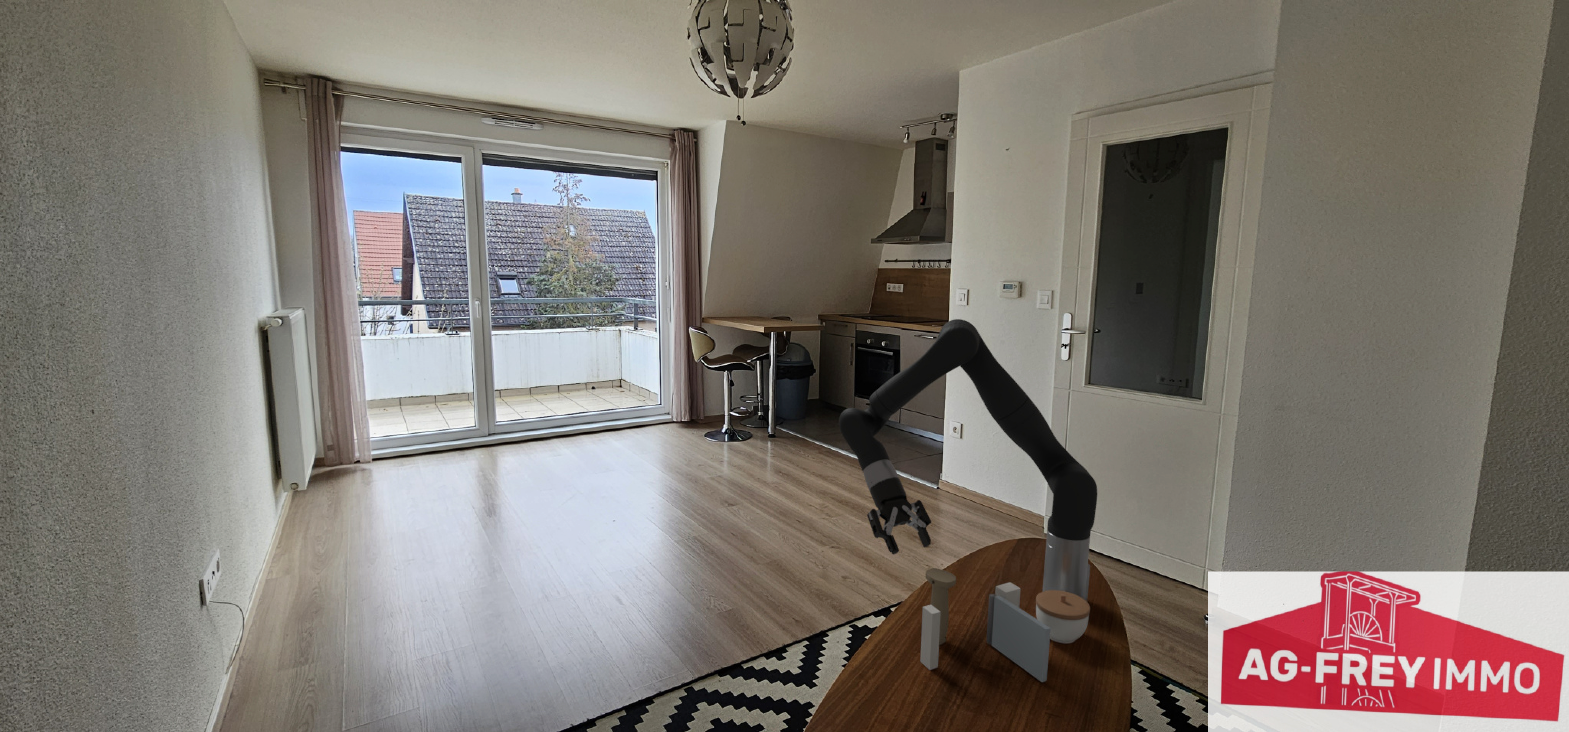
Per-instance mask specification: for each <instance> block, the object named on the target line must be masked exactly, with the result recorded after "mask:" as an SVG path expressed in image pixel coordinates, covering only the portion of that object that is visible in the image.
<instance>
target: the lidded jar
mask: <svg viewBox="0 0 1569 732" xmlns="http://www.w3.org/2000/svg"><path fill="white" fill-rule="evenodd" d="M1035 604H1036V605H1035V614H1036V615H1035V616H1036V619H1037V620H1039V621H1041V622H1042V623H1044V624H1045V625H1047V626H1048V627H1050V628H1051V631H1050V641H1053V642H1056V643H1058V644H1059V643H1060V644H1072V643H1074V642H1075V641H1076V640H1078V639H1079V638H1080V637H1082V636H1083V634H1084V633H1086V629H1087V627H1088V624H1089V620H1090V618H1089V617H1090V614H1091V606H1090V604H1089V603H1088V600H1087V601H1085V600H1084V599H1083V598H1081V597H1079V596H1077V595H1075V594H1072V593H1069V592H1065V591H1059V590H1048V591H1043V590H1042V591H1041V592H1039V593H1038V594H1037V595H1036V597H1035Z"/></svg>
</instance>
